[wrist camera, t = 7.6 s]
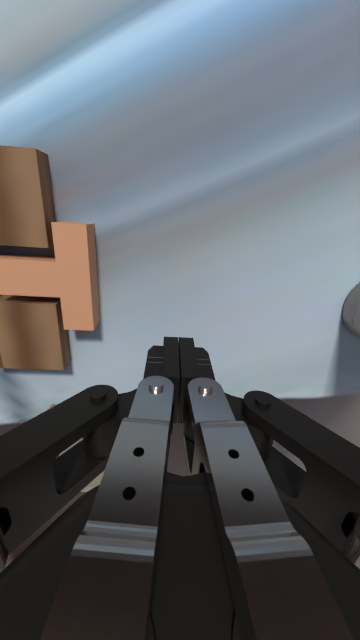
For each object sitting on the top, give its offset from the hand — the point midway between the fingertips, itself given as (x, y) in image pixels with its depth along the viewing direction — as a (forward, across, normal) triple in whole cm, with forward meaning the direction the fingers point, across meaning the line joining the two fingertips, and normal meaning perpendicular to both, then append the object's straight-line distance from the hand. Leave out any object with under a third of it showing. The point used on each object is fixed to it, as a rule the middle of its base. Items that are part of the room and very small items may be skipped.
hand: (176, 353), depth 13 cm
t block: (+19, +15, +1) cm, 24 cm away
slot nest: (+19, +18, +1) cm, 27 cm away
